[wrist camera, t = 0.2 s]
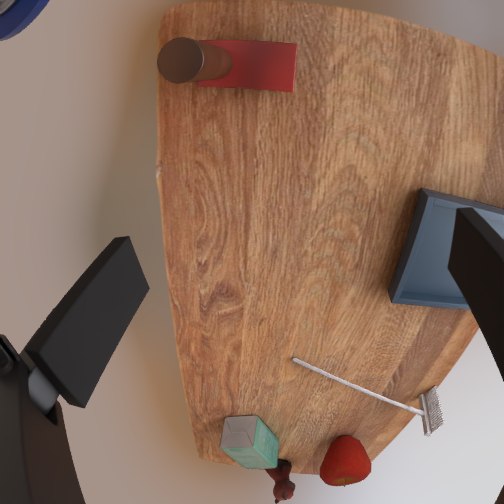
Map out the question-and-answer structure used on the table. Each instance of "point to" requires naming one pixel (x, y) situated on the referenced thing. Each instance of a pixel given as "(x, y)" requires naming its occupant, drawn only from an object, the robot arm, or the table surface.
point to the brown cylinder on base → (229, 63)
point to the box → (249, 442)
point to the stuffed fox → (282, 480)
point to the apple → (345, 462)
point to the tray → (434, 251)
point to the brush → (424, 400)
